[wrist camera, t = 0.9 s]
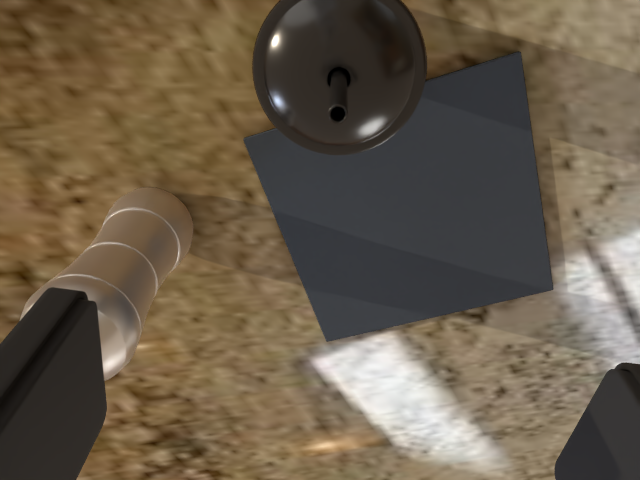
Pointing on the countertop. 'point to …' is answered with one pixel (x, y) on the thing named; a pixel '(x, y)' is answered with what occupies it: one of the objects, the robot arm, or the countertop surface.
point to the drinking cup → (339, 72)
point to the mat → (417, 208)
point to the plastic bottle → (127, 268)
